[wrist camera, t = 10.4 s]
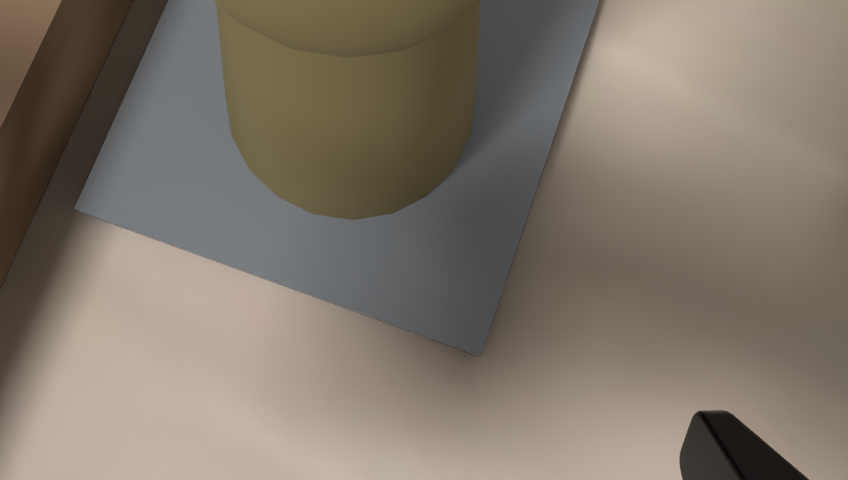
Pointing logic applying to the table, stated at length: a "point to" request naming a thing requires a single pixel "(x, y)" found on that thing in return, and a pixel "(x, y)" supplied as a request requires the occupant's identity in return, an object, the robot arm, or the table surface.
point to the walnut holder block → (44, 95)
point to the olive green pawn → (350, 97)
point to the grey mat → (336, 237)
